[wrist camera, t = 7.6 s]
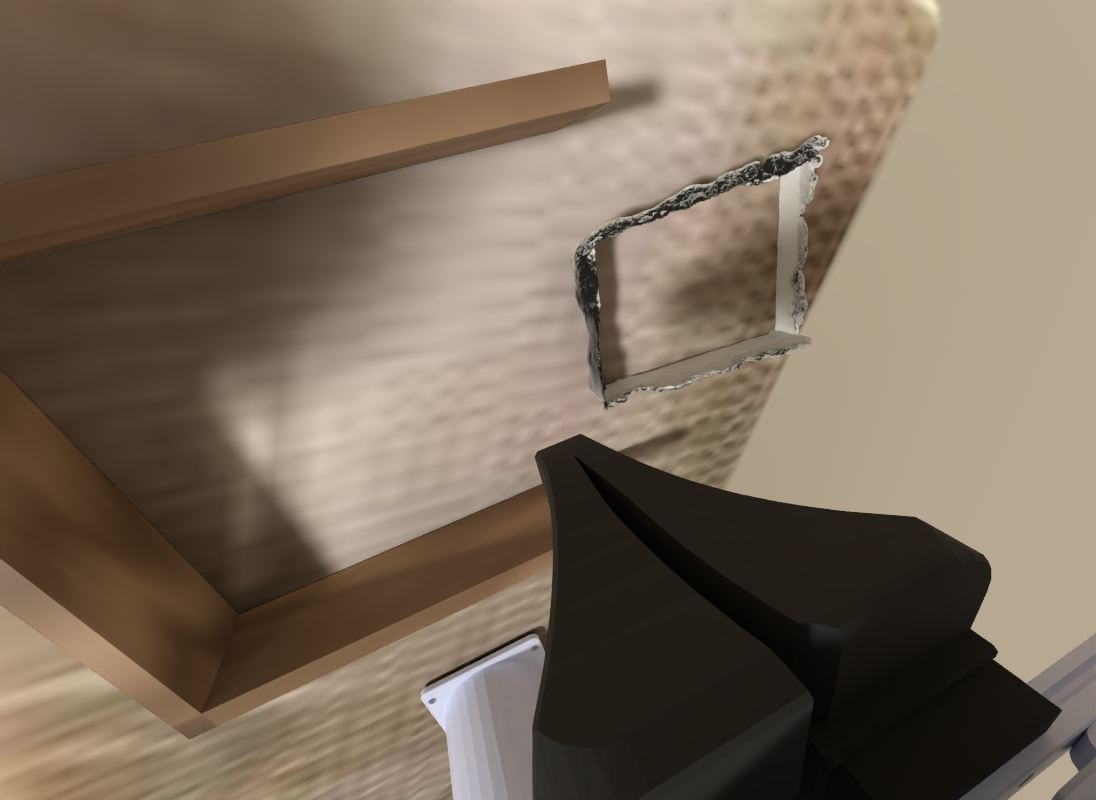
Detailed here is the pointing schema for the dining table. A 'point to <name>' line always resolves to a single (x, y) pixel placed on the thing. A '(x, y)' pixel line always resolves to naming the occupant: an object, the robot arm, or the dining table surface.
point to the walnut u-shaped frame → (133, 542)
